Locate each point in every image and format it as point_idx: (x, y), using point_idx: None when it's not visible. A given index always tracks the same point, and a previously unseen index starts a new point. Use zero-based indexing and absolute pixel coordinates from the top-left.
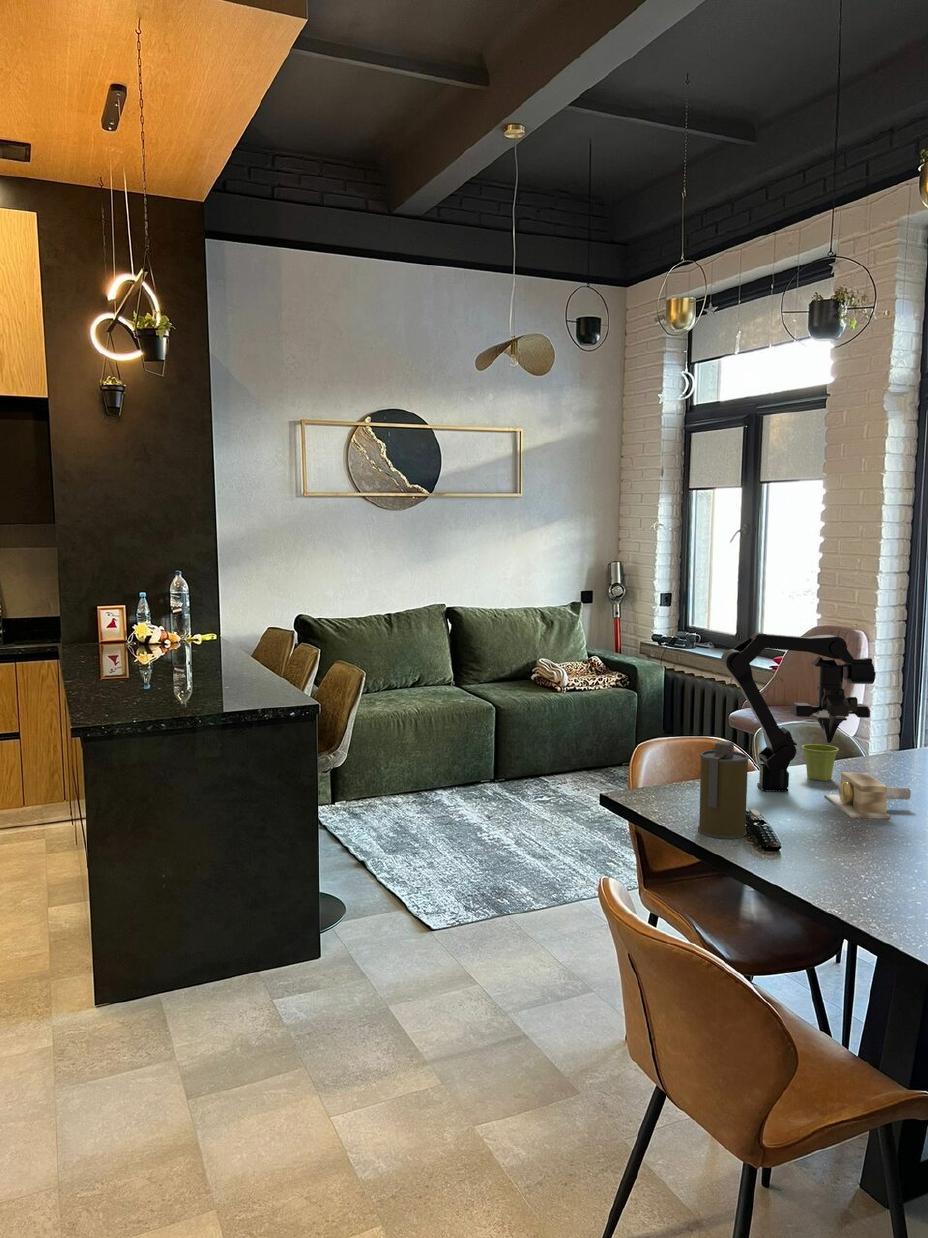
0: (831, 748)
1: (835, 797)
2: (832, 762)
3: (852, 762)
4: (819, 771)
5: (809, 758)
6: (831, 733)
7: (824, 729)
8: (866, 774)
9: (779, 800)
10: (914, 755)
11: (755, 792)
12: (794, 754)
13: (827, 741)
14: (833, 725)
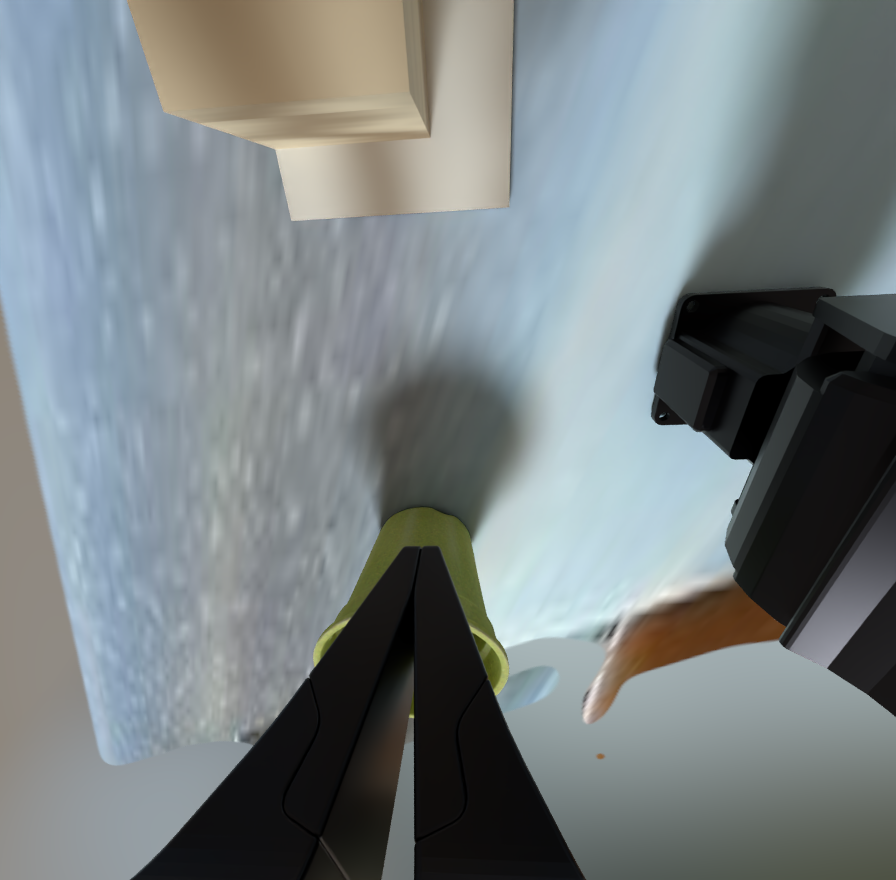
0: None
1: (461, 127)
2: (366, 574)
3: (273, 694)
4: (435, 535)
5: (478, 600)
6: (383, 643)
7: (500, 718)
8: (145, 3)
9: (873, 48)
10: (106, 742)
11: (888, 267)
12: (821, 384)
13: (442, 555)
14: (315, 818)
